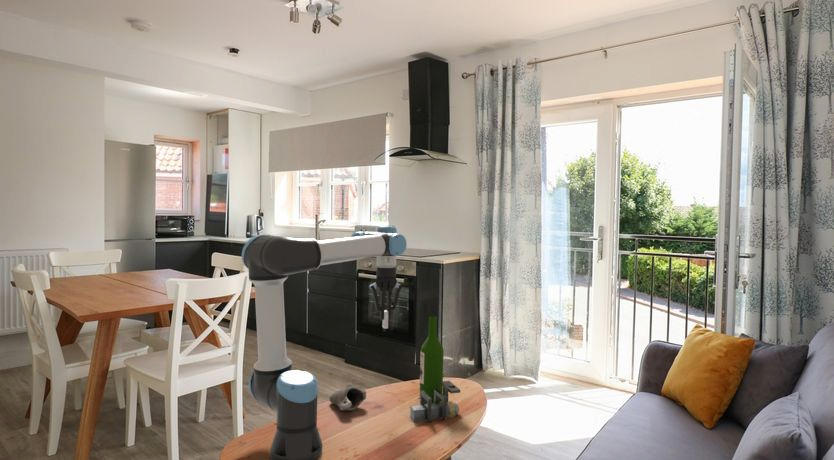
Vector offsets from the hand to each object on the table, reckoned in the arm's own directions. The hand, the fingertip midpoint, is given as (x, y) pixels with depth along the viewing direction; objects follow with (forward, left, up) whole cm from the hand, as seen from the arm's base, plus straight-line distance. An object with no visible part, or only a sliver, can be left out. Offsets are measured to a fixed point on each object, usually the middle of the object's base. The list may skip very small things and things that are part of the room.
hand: (385, 327), depth 186 cm
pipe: (-14, -1, -29) cm, 32 cm away
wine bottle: (+18, -4, -29) cm, 34 cm away
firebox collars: (+16, -18, -28) cm, 37 cm away
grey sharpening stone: (+13, -19, -29) cm, 37 cm away
